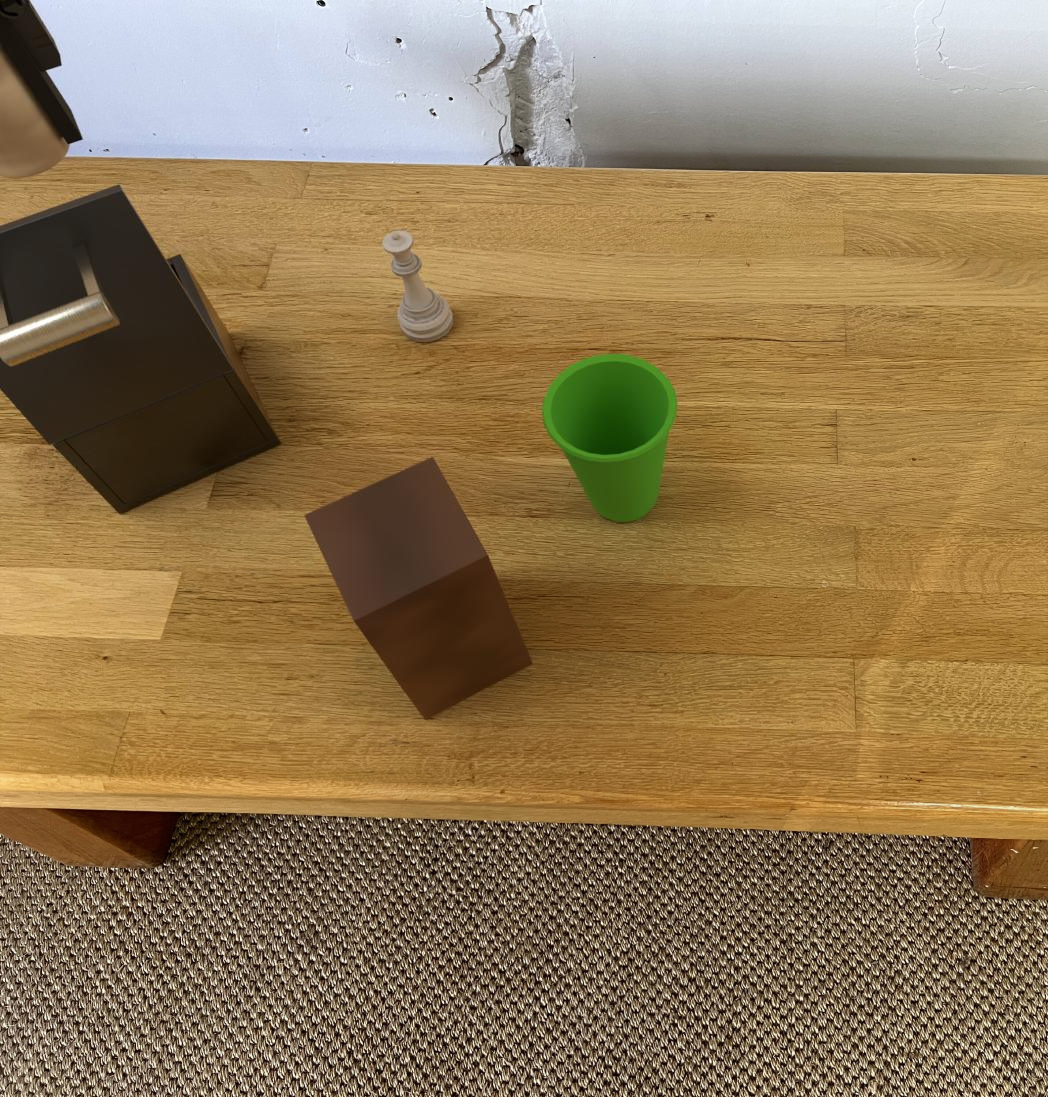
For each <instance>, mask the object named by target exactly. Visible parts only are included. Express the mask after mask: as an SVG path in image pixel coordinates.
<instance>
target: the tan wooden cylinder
mask: <svg viewBox="0 0 1048 1097" xmlns="http://www.w3.org/2000/svg"><path fill="white" fill-rule="evenodd" d="M70 147H71V144H67V142H66V141H65V139H64V138H63V136H62V135H61V133H60V132H59V130H58V129H57V127H56V126H55V124H54V123H53V121H52V120H51V118H50V117H49V115H48V114H47V112H46V111H45V109H44V108H43V106H42V105H41V103H40V102H39V100H38V99H37V97H36V96H35V94H34V93H33V91H32V90H31V88H30V87H29V85H28V84H27V82H26V81H25V79H24V78H23V76H22V75H21V73H20V72H19V70H18V69H17V67H16V66H15V64H14V63H13V61H12V60H11V58H10V57H9V55H8V54H7V52H6V51H5V49H4V48H3V46H2V45H1V43H0V177H3V178H7V179H22V178H23V179H25V178H29V177H30V178H31V177H34V176H37V175H40V174H43V173H45V172H47V171H49V170H51V169H52V168H54V167H56V166H57V165H58V164H60V162H62V160H63V159H64V158H65V157H66V156H67V154H68V153H69V150H70Z"/></svg>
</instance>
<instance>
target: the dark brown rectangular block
mask: <svg viewBox="0 0 1048 1097" xmlns="http://www.w3.org/2000/svg"><path fill="white" fill-rule="evenodd" d="M304 518H305V520H306V523H307V525H308V527H309V529H310V531H311V533H312V535H313V537H314V540H315V542H316V544H317V546H318V548H319V550H320V552H321V555H322V557H323V559H324V561H325V563H326V566H327V567H328V570H329V572H330V574H331V577H332V578H333V580H334V582H335V584H336V587H337V589H338V592H339V593H340V595H341V597H342V599H343V602H344V604H345V607H346V609H347V610H348V612H349V614H350V617H351V619H352V621H353V622H354V624H355V625H356V626H357V628H358V629H359V631H360V632H361V634H362V635H363V636H364V638H365V639H366V640H367V642H368V643H369V645H370V646H371V648H372V649H373V650H374V652H375V653H376V654H377V656H378V658H379V659H380V660H381V661H382V663H383V664H384V666H385V667H386V669H387V670H388V671H389V672H390V674H391V675H392V677H393V678H394V679H395V681H396V683H397V684H398V685H399V686H400V688H401V689H402V690H403V692H404V693H405V695H406V696H407V697H408V699H409V700H410V702H411V703H412V704H413V706H414V707H415V708H416V710H417V712H418V713H419V714H420V716H421V717H422V718H423V720H424V721H426V720H428V719H430V718H432V717H434V716H436V715H438V714H440V713H442V712H444V711H445V710H447V709H450V708H451V707H454V706H455V705H457V704H459V703H460V702H462V701H464V700H467V699H469V698H471V697H472V696H474V695H476V694H478V693H480V692H482V691H483V690H485V689H487V688H489V687H491V686H493V685H495V684H496V683H498V682H501V681H503V680H505V679H506V678H508V677H510V676H511V675H514V674H516V673H518V672H520V671H521V670H523V669H526V668H527V667H529V666H532V664H533V660H532V658H531V655H530V653H529V650H528V648H527V645H526V643H525V641H524V638H523V636H522V634H521V631H520V629H519V626H518V624H517V621H516V619H515V616H514V614H513V612H512V609H511V607H510V604H509V602H508V600H507V598H506V595H505V592H504V590H503V587H502V584H501V583H500V581H499V578H498V576H497V573H496V571H495V568H494V566H493V564H492V560H491V558H490V556H489V553H488V552H487V550H486V548H485V547H484V545H483V543H482V541H481V539H480V538H479V536H478V534H477V532H476V531H475V529H474V527H473V525H472V524H471V522H470V520H469V518H468V516H467V514H466V513H465V511H464V509H463V507H462V506H461V504H460V502H459V500H458V499H457V497H456V494H454V491H453V490H452V488H451V486H450V484H449V483H448V481H447V479H446V477H445V476H444V473H443V472H442V470H441V468H440V467H439V465H438V463H437V461H436V460H435V458H434V457H433V456H431V457H429V458H426V459H425V460H422V461H420V462H418V463H416V464H413V465H411V466H408V467H407V468H404V469H402V470H400V471H398V472H396V473H394V474H391V475H389V476H387V477H385V478H383V479H381V480H378V481H376V482H374V483H372V484H369V485H367V486H365V487H363V488H361V489H358V490H356V491H354V492H352V493H350V494H348V495H345V496H343V497H341V498H339V499H336V500H334V501H331V502H330V503H328V504H326V505H323V506H321V507H319V508H317V509H315V510H312V511H310V512H308V513H306V514H304Z"/></svg>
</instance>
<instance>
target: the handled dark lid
mask: <svg viewBox="0 0 1048 1097" xmlns="http://www.w3.org/2000/svg"><path fill="white" fill-rule="evenodd" d="M166 259H167V257H166V256H165V254H163V252H162V250H161V249H160V247H159V245H158V244H157V242H156V241H155V239H154V237H153V235H152V234H151V232H150V231H149V229H148V228H147V226H146V224H145V223H144V221H143V219H142V218H141V216H140V214H139V213H138V212H137V209H136V208H135V207H134V205H133V203H132V202H131V200H130V199H129V197H128V195H127V193H126V192H125V190H124V189H123V187H122V185H121V184H120V183H119V184H116V185H113V186H110V187H107V188H104V189H101V190H98V191H95V192H93V193H90V194H86V195H84V196H80V197H78V198H76V199H73V200H69V201H67V202H64V203H61V204H59V205H55V206H52V207H49V208H47V209H44V210H41V211H38V212H35V213H32V214H30V215H27V216H24V217H21V218H19V219H15V220H13V221H9V222H7V223H3V224H1V225H0V391H1V392H2V393H3V394H4V395H5V397H7V399H8V400H9V401H10V402H11V403H12V404H13V406H14V407H15V408H16V409H17V410H18V411H19V413H21V415H22V416H23V417H24V418H25V419H26V420H27V421H28V423H29V424H30V425H31V426H32V427H33V428H34V429H35V430H36V431H37V433H38V434H39V435H40V436H41V437H42V439H43V440H44V441H45V442H46V443H47V444H48V445H52V443H54V442H57V441H59V440H62V439H64V438H67V437H69V436H71V435H74V434H76V433H79V432H81V431H84V430H86V429H89V428H91V427H93V426H96V425H98V424H101V423H103V422H106V421H108V420H111V419H113V418H115V417H118V416H120V415H123V414H125V413H128V412H130V411H133V410H135V409H137V408H140V407H142V406H145V405H147V404H150V403H152V402H155V401H157V400H159V399H162V398H164V397H167V396H169V395H172V394H174V393H177V392H179V391H181V390H184V389H186V388H189V387H191V386H194V385H196V384H199V383H201V382H203V381H206V380H208V379H211V378H213V377H216V376H218V375H221V374H223V373H225V372H228V371H230V370H233V368H232V365H231V363H230V361H229V360H228V358H227V357H226V355H225V353H224V352H223V350H222V349H221V347H220V345H219V344H218V342H217V340H216V339H215V337H214V336H213V334H212V332H211V331H210V329H209V328H208V326H207V324H206V323H205V321H204V319H203V318H202V316H201V315H200V313H199V311H198V310H197V308H196V307H195V305H194V303H193V302H192V300H191V299H190V297H189V295H188V294H187V292H186V290H185V289H184V287H183V286H182V284H181V282H180V281H179V279H178V278H177V276H176V274H175V273H174V271H173V269H172V268H171V266H170V265H169V263H168V261H167V260H166Z"/></svg>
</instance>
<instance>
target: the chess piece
mask: <svg viewBox="0 0 1048 1097" xmlns="http://www.w3.org/2000/svg"><path fill="white" fill-rule="evenodd" d="M414 242H415V241H414V237H413V236H412V234H411V233H410V232H408V231H405V230H393V231H391V232H389V233H388V234H387V235H385V236H384V237H383V239H382V242H381V243H382V248H383V250H384V251H385V252H387V253H388V254H390V255H392V256H393V258H392V259H391V261H390V269H391V271H392V273H393V274H394V275H395V276H397V277H399V278H401V279H402V281H403V285H404V286H403V287H404V294H403V295H402V297H401V303H400V305H399V307H398V310H397V320H398V322H399V326H400V329H401V331H402V333H403V334H404V335H405V337H406V338H408V339H409V340H411V341H414V342H417V343H428V342H429V343H430V342H433V341H437V340H439V339H441V338H443V337H445V335H447V334H448V333H449V332H450V330H451V329H452V328H453V325H454V315H453V312H452V309H451V307H450V305H449V302H448V300H447V299H446V298H445V297H443V296H442V295H440V294H439V293H437V292H435V291H434V290H433V289H432V288H430V287H428V286H426V285H425V284H424V282H423V280H422V279H421V276H420V274H419V272H420V271H421V269H422V265H423V263H422V260H421V257H420V256H419V255H418V254H416V253H413V252H412V251H411V249H412V247H414Z"/></svg>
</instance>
